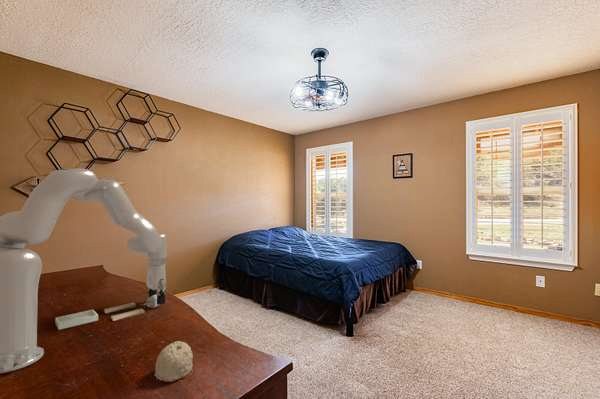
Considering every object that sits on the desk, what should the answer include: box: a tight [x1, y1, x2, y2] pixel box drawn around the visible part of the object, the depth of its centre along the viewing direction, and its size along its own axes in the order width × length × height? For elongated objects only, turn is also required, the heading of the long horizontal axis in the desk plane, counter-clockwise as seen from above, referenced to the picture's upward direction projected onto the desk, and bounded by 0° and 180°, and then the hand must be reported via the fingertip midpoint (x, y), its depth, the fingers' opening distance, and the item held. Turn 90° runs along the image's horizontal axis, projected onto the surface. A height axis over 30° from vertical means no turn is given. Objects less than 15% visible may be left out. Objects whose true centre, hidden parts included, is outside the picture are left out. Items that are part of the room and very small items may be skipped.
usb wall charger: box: [143, 294, 159, 309], centre depth 124 cm, size 4×7×4 cm, turn 166°
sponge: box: [154, 340, 194, 381], centre depth 76 cm, size 9×10×10 cm
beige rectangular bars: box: [103, 302, 146, 322], centre depth 117 cm, size 14×11×1 cm
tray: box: [54, 309, 99, 331], centre depth 108 cm, size 8×12×2 cm
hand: (156, 301), depth 126 cm, fingers open, 9 cm apart
